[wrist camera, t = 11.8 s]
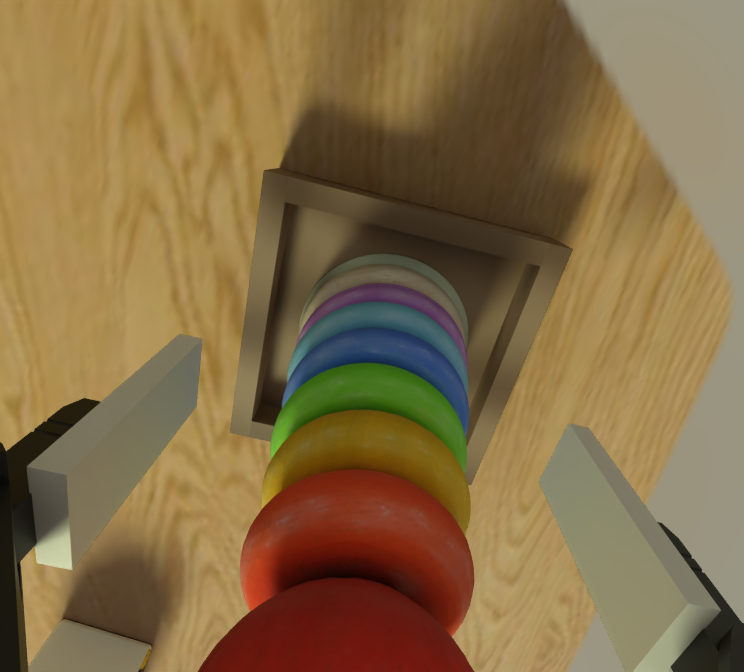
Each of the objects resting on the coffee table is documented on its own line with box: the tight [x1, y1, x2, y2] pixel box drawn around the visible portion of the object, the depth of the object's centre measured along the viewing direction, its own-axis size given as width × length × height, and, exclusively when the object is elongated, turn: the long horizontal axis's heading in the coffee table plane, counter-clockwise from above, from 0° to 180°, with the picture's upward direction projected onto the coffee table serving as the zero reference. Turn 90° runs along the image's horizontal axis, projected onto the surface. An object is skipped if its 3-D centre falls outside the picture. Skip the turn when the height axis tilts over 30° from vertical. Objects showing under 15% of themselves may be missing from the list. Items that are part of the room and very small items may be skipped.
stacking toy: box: [198, 264, 474, 672], centre depth 13 cm, size 8×8×19 cm
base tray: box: [230, 168, 573, 485], centre depth 21 cm, size 13×13×2 cm
